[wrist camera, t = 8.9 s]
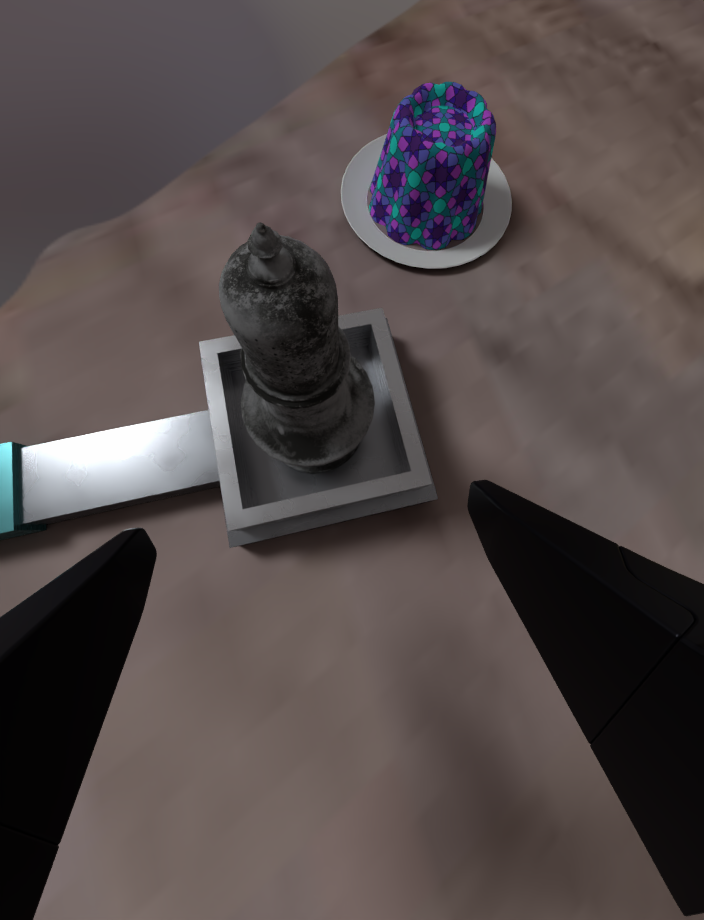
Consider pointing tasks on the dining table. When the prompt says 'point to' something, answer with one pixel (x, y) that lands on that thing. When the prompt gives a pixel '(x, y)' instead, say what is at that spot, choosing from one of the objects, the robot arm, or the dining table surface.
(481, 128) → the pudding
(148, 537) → the robot arm
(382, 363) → the square frying pan
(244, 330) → the chess piece
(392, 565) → the dining table surface
